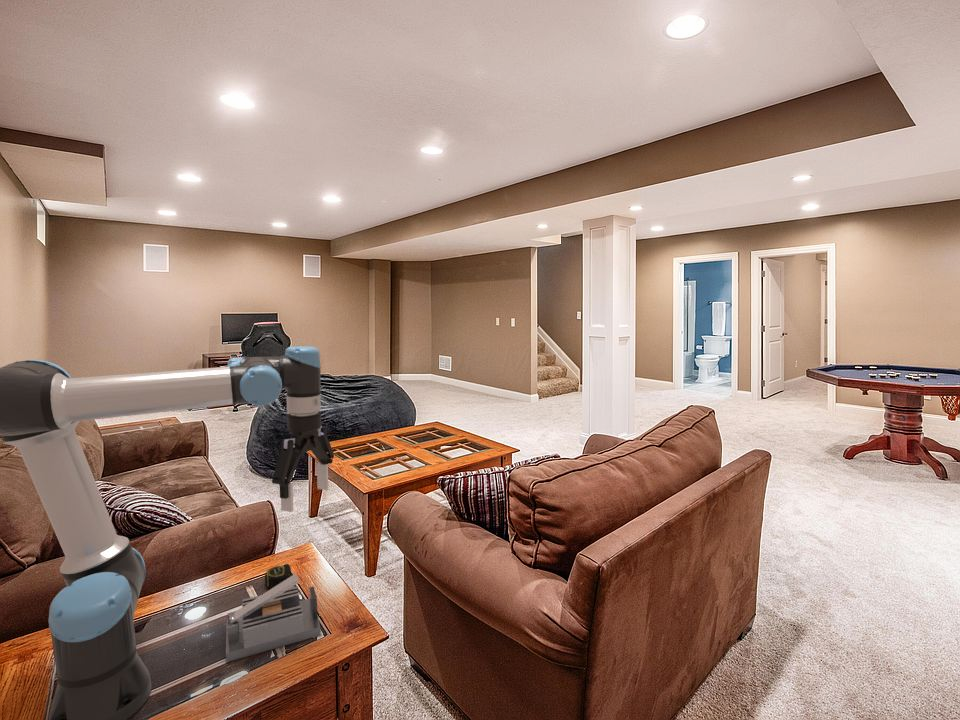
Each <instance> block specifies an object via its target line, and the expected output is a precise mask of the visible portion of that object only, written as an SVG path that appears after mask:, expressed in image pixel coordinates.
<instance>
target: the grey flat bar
mask: <svg viewBox="0 0 960 720" xmlns="http://www.w3.org/2000/svg"><path fill="white" fill-rule="evenodd" d="M299 582H300V580H299V577H298V575H297V572H296V573H294V574H293V575H292V576H291V577H289V578H288V579H286V580H284V581H283V582H281V583H280V584H278V585H277V586H275V587H273V588H270V589H269V590H267V591H266V592H264V593H263V594H260V595H261V596H260V595H258V596H259V597H258V598H256V599H255V600H253V601H252V602H250V603H248V604H247V605H245V606H244V607H243V606H242V607H241V608H239V609H237V610H236V612H235V611H232V612H233V613H231V612H230V613H231V614H230V615H229V625H232V624H236V623H237V622H239V621H240V620H242V619H243V618H245V617H246V616H248V615H250V614H251V613H253V612H254V611H256V610H257V609H259V608H260V607H262V606H263V605H265V604H267V603H268V602H270V601H271V600H273V599H274V598H276V597H277V596H279V595H280V594H282V593H284V592H285V591H287V590H288V589H290V588H292V587H295V586H296V585H297V584H299Z"/></svg>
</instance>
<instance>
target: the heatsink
mask: <svg viewBox="0 0 960 720" xmlns="http://www.w3.org/2000/svg"><path fill="white" fill-rule="evenodd" d="M298 588H299V587H298V586H296V585H295V586H293V587H291V588H290V589H288V590H287V591H285V592H284V593H282V594H280V595H279V596H277V597H276V598H274V599H273V600H271V601H270V602H268V603H267V604H265V605H263V606H262V607H260V608H259V609H257V610H256V611H254V612H253V613H251V614H250V615H248V616H246V617H245V618H243V619H242V620H240V621H239V622H237V623H236V624H232V625H229V615H230V614H231V613H233V612H236V611H237V610H236V611H232V612H228V613H227V619H226V624H225V626H226V631H225V662H226V663H230V662H234V661H237V660H241V659H244V658H247V657H250V656H254V655H257V654H260V653H264V652H268V651H271V650H273V649H274V650H275V649H278V648H282V647H284V646H288V645H292V644H295V643H299V642H301V641H306V640H309V639H312V638H317V637H319V636H321V633H322V631H321V629H322V628H321V625H320V624H321V623H320V620H319V617H318V598H317V594H316V591H315V587H314V586H309V587H308V590H309V591H308V592H309V598H307V599H303V600H300V593H299V589H298ZM261 595H262V594H260V595H256V596H251V597H248V598H243V599H242V605H241V606H242V607H244V606H245V605H247V604H248V603H250V602H252V601H253V600H255V599H256V598H258V597H259V596H261Z"/></svg>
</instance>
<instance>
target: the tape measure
mask: <svg viewBox="0 0 960 720" xmlns="http://www.w3.org/2000/svg"><path fill="white" fill-rule="evenodd" d="M292 575H294V574H293V572H292V567H291V565H290V564H288V563H285V564H283V565H277V566H276V565H275V566H273V567H271V568H269V569H268V570H267V571H266V573H265V575H264V583H265V585H266V587H268V588H270V589H272V588H273V587H275V586H277V585H278V584H280V583H281V582H283V581H284V580H286V579H288V578H289V577H291V576H292Z"/></svg>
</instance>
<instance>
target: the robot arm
mask: <svg viewBox="0 0 960 720" xmlns="http://www.w3.org/2000/svg"><path fill="white" fill-rule="evenodd" d="M320 355H321V354H320V350H319V349H318V348H317V347H315V346H308V345H307V346H304V345H298V346H297V345H296V346H288V347H287V348H285V353H284V355H280V356H242V357H232V358H229V360H228V361H227V366H219V367H204V368H203V367H202V368H194V369H193V368H192V369H191V368H190V369H179V370H177V369H176V370H167V371H153V372H152V371H151V372H141V373H140V372H138V373H126V374H125V373H124V374H112V375H99V376H98V375H97V376H85V377H73V378H72V376H71V375H70V374H69V373H68V371H67V370H65V368H63V367H62V366H61V365H58V364H55V363H53V362H50V361H47V360H42V359H26V360H19V361H17V360H16V361H15V362H12V363H8V364H6V365H4V366H1V367H0V438H1V440H2V442H3V443H4V444H6V445H9V446H13V447H15V448H17V449H18V451H19V453H20V455H21V456H20V457H21V458H22V461H23V463H24V465H25V467H26V470H27V471H28V474H29V475H30V478H31V481H32V484H33V486H34V488H35V490H36V493H37V494H38V497H39V499H40V502H41V504H42V506H43V508H44V510H45V512H46V515H47V517H48V520H49V523H50V525H51V527H52V529H53V531H54V534H55V535H56V537H57V541H58V542H59V545H60V547H61V549H62V552H63V554H64V557H65V559H64V560H63V562H62V564H61V565H60V567H59V571H60V572H59V573H60V574H61V576H62V578H63V580H64V583H65V585H66V586H65V587H63V588H62V589H61V590H60V591H59V592H58V593H57V594H56V595H55V597H54V598H53V600H51V603H50V606H49V609H48V611H49V613H48V628H49V632H50V636H51V642H52V643H51V644H52V650H53V658H54V664H55V671H56V679H57V686H56V688H55V691H54V695H53V699H52V702H51V706H50V709H49V713H48V720H129V719H130V718H131V717H132V716H133V715H135V714H136V713H137V712H138V711H139V710H140V709H141V708H142V707H143V706H144V704H146V702H147V700H148V699H149V697H150V695H151V692H152V680H151V679H152V678H151V675H150V671H149V669H148V668H147V666H146V665H145V663H144V662H143V660H142V659H141V657H140V655H139V654H138V652H137V651H138V650H137V644H136V634H135V633H136V632H135V623H134V622H135V621H134V620H135V619H134V618H135V617H134V616H135V612H136V608H137V605H138V603H139V602H138V601H139V597H140V593H141V590H142V587H143V585H144V583H145V579H146V564H145V561H144V557H143V556H142V554H141V553H140V551H138V550H137V549H136V548H134V547H132V544H131V541H130V539H129V538H128V537H126V536H123V535H118V534H117V531H116V529H115V526H114V525H113V522H112V519H111V517H110V514H109V511H108V509H107V507H106V504H105V501H104V499H103V497H102V495H101V492H100V489H99V487H98V484H97V482H96V479H95V476H94V475H93V472H92V470H91V468H90V465H89V462H88V459H87V457H86V455H85V452H84V450H83V448H82V445H81V443H80V440H79V438H78V434H77V433H76V428H77V426H78V425H79V423H81V422H84V421H85V422H86V421H94V420H95V421H96V420H102V419H113V418H120V417H129V416H130V417H131V416H139V415H148V414H157V413H166V412H174V411H183V410H184V411H186V410H192V409H193V410H194V409H202V408H211V407H220V406H229V405H243V404H251V405H254V406H262V407H263V406H267V405H270V404H272V403H274V402H275V401H276V400H277V399H278V398H279V396H280V395H281V392H282V390H284V389H285V390H286V412H288V414H287V415H286V417H287V418H286V419H287V421H286V422H287V424H286V425H287V430H288V431H289V432H290V433H291V436H290V438H282V439H281V441H280V451H279V454H278V457H277V461H276V465H275V468H274V472H273V476H272V479H271V483H272V484H274V485H278V486H279V498H280V508H281V509H280V510H281V511H284V512H288V513H292V512H294V484H293V483H292V479H293V476H294V474H295V472H296V470H297V467H298V465H299V462H300V460H301V458H302V457H304V456H305V454H306V453H308V451H311V453H312V454H313V455H314V457H315V458H316V459H317V461H318V463H316V479H317V480H316V483H317V487H316V488H317V490H323V491H328V490H329V473H330V471H329V464H331V465H332V464H333V461H334V460H333V459H334V457H335V454H334V451H333V448H332V446H331V443H330V440H329V438H328V435H327V434H328V433H327V427H326V426H322V413H321V412H320V411H321V409H322V406H321V405H322V404H321V394H322V392H321V391H322V389H321V376H322V375H321V374H322V373H321V368H322V367H321V359H320V358H321V357H320Z"/></svg>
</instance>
